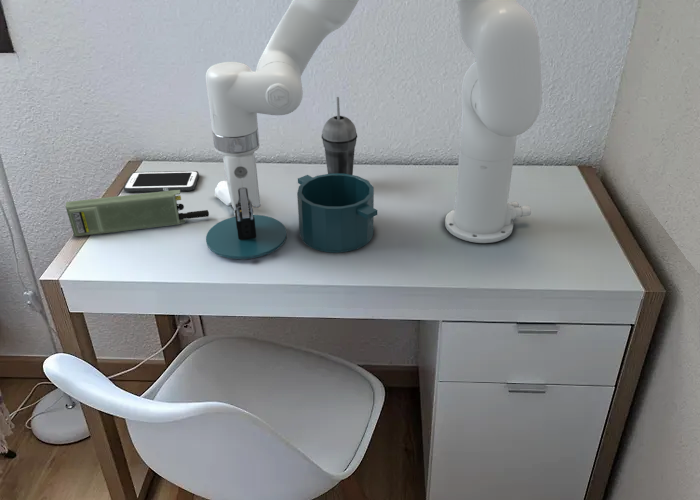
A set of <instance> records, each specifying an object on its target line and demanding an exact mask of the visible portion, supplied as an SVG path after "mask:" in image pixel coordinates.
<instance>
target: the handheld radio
mask: <svg viewBox="0 0 700 500" xmlns="http://www.w3.org/2000/svg"><path fill="white" fill-rule="evenodd" d="M180 194H181V191H180V190H171V191H152V192H144V193H136V194H127V195H126V194H125V195H117V196H116V195H115V196H109V197H99V198H89V199H82V200H81V199H80V200H72V201H70V200H69V201H66V202H65V210H66V213H67V217H68V220H69V223H70V226H71V230H72V233H73V236H74V237H84V236H92V235H93V236H94V235H101V234H110V233H117V232H126V231H127V232H128V231H135V230H145V229H152V228H153V229H154V228H161V227H169V226H177V225H180V224H181V225H182V224H185V223H186V220H187V219H188V220H189V219H198V218H208V217H209V215H210V213H209V210H208V209H205V210H203V209H202V210H195V211H188V212H184V213H183V212H179V211H183V210H184V209H185V205H184V204H183V203H178V202H177V201H181V200H182V196H181V195H180Z"/></svg>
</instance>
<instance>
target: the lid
mask: <svg viewBox="0 0 700 500" xmlns="http://www.w3.org/2000/svg"><path fill="white" fill-rule="evenodd" d="M240 211H241V210H240ZM253 217H254V218H255V228H256V238H251V239H243V240H239V239H238V231H237V225H236V217H235V216H232V217H228V218H226V219H225V218H224V219H223V220H221V221H219V222H217V223H215V224H214V225H212V227H211V228H210V229H209V230H208V231H207V233H206V236H205V242H206V246H207V249H208V250H210V251H211V252H212V253H214V254H215V255H218V256H220V257H222V258H227V259H232V260H247V259H248V260H250V259H255V258H261V257H263V256H267V255H269V254H272V253H273V252H276V251H277V250H278V249H280V248H281V247H282V246H283V245H284V244H285V242H286V240H287V237H288V232H287V228H286V226H285V225H284V224H283V222H281V221H280V220H278V219H276V218H274V217H271V216H267V215H262V214H253Z"/></svg>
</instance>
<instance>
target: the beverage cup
mask: <svg viewBox="0 0 700 500" xmlns="http://www.w3.org/2000/svg"><path fill="white" fill-rule="evenodd" d="M355 125H356V124H354V122H353V121H352V120H351V119H350V118H348V117H347V116H345V115H341V112H340V96H337V97H336V115H335V116H331V118H328V120H327V121H326V122H325V123H324V125H323V127H322V131H321V139H322V145H323V148H324V154H325V155H324V156H325V162H326V171H327V174H330V173H341V174H350V175H354V174H353V173H354V161H355V149H356V145H357V138H358V133H357V128H356V126H355Z"/></svg>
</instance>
